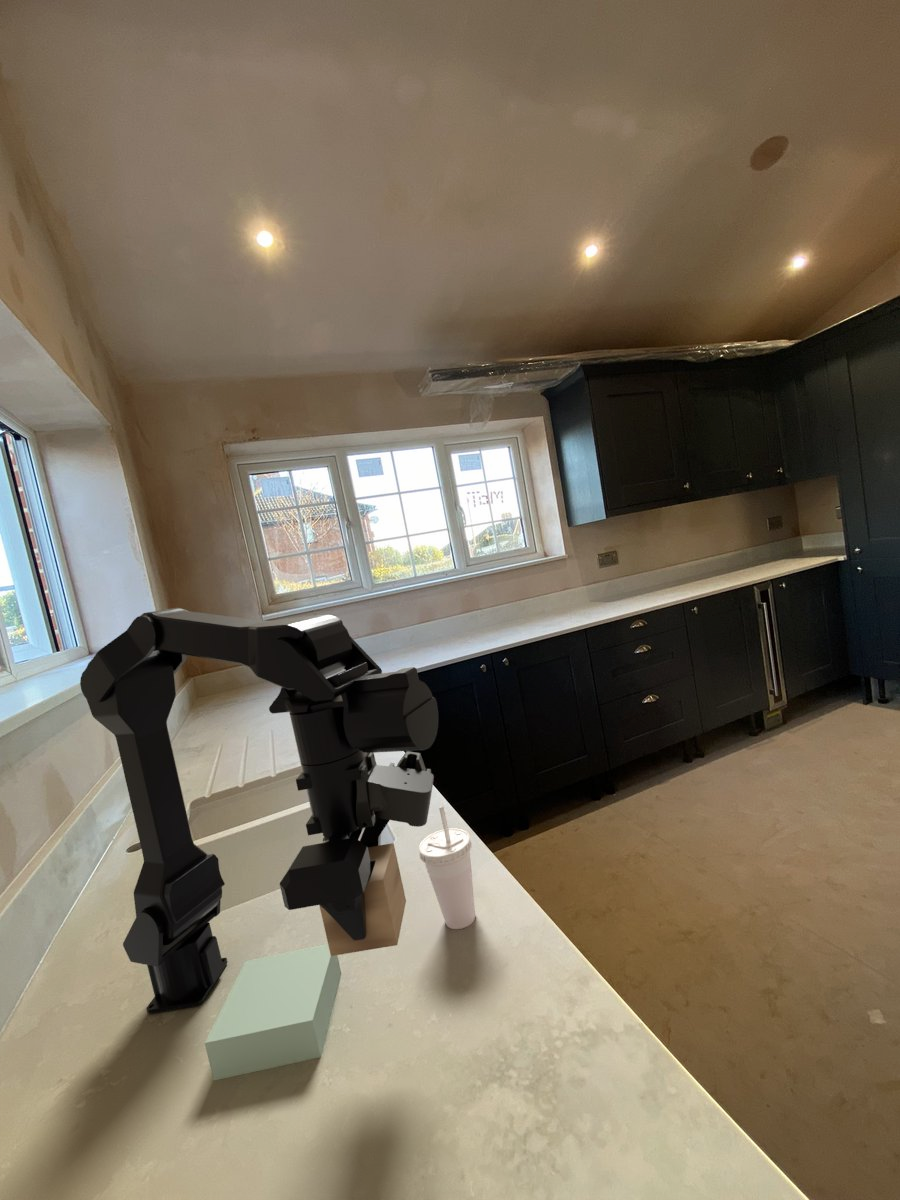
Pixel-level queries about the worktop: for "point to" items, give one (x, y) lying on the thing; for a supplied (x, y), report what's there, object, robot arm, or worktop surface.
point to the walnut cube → (374, 907)
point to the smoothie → (450, 873)
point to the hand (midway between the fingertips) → (367, 914)
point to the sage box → (275, 1012)
